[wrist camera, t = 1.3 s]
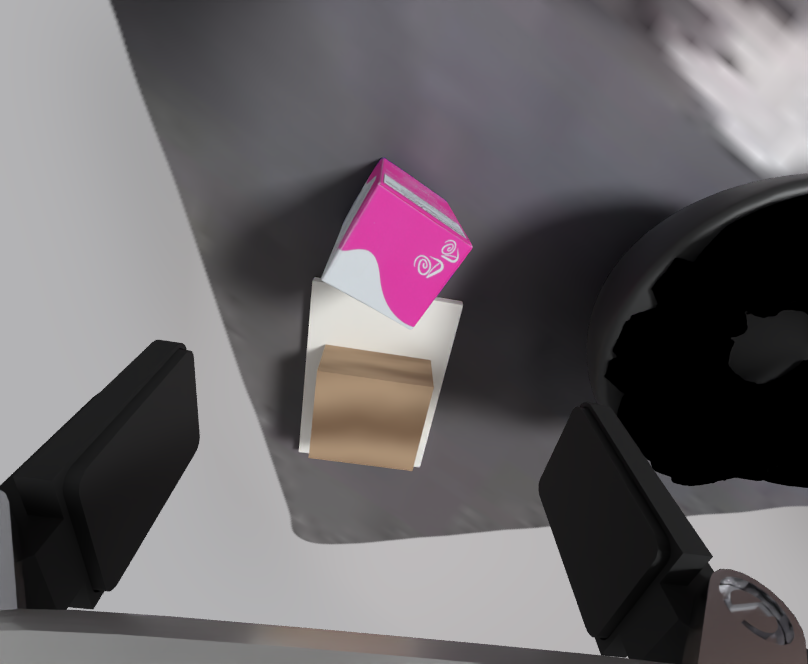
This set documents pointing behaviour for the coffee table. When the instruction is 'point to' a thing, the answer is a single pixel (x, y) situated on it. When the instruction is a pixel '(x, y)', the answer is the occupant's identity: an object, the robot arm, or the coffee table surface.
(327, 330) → the board
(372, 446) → the walnut block
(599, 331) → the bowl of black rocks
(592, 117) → the coffee table surface
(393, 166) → the supplement box
